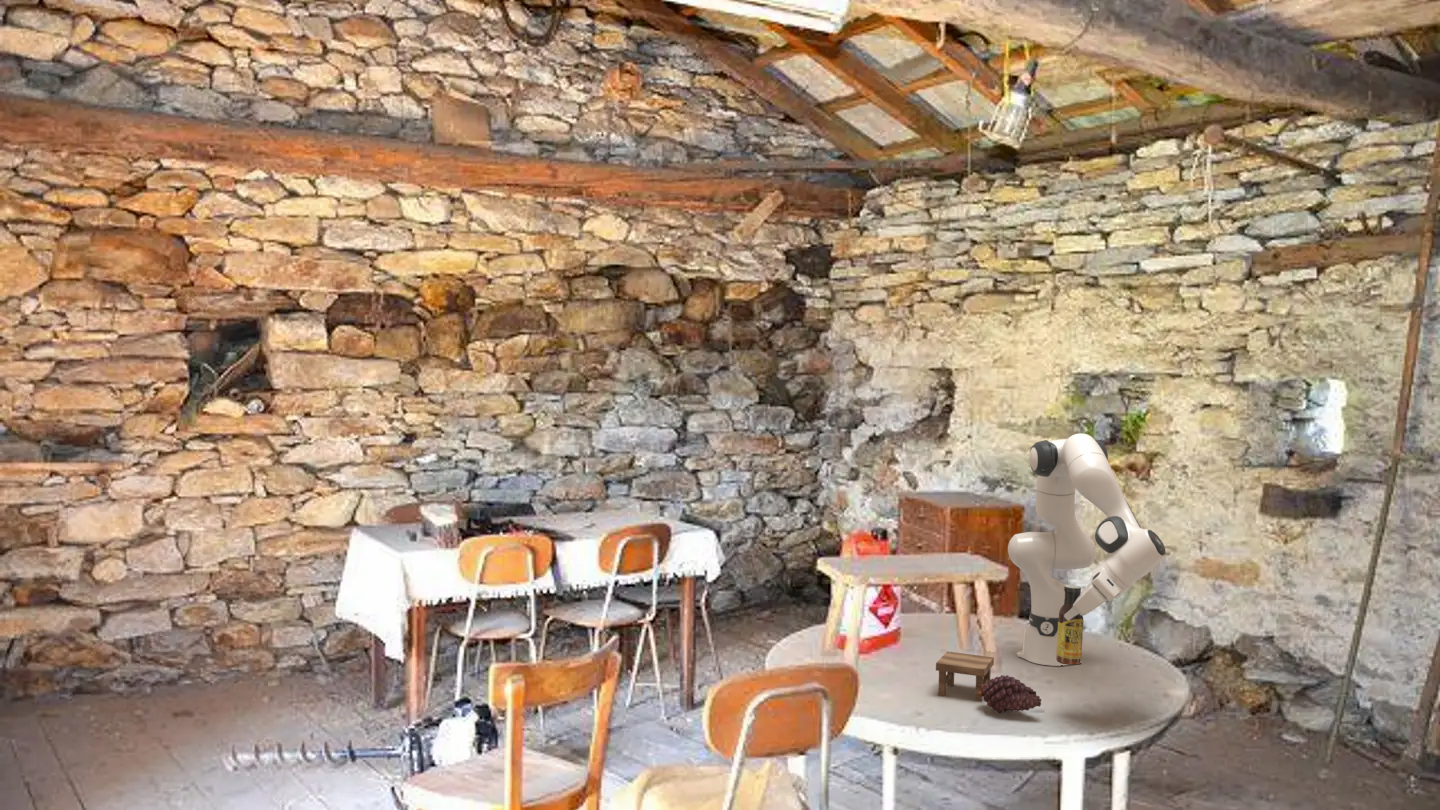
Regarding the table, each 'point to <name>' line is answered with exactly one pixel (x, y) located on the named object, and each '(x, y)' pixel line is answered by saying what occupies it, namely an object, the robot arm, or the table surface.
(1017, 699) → the pine cone
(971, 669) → the light brown wooden stool
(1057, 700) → the table surface
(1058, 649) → the sauce bottle
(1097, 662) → the table surface
